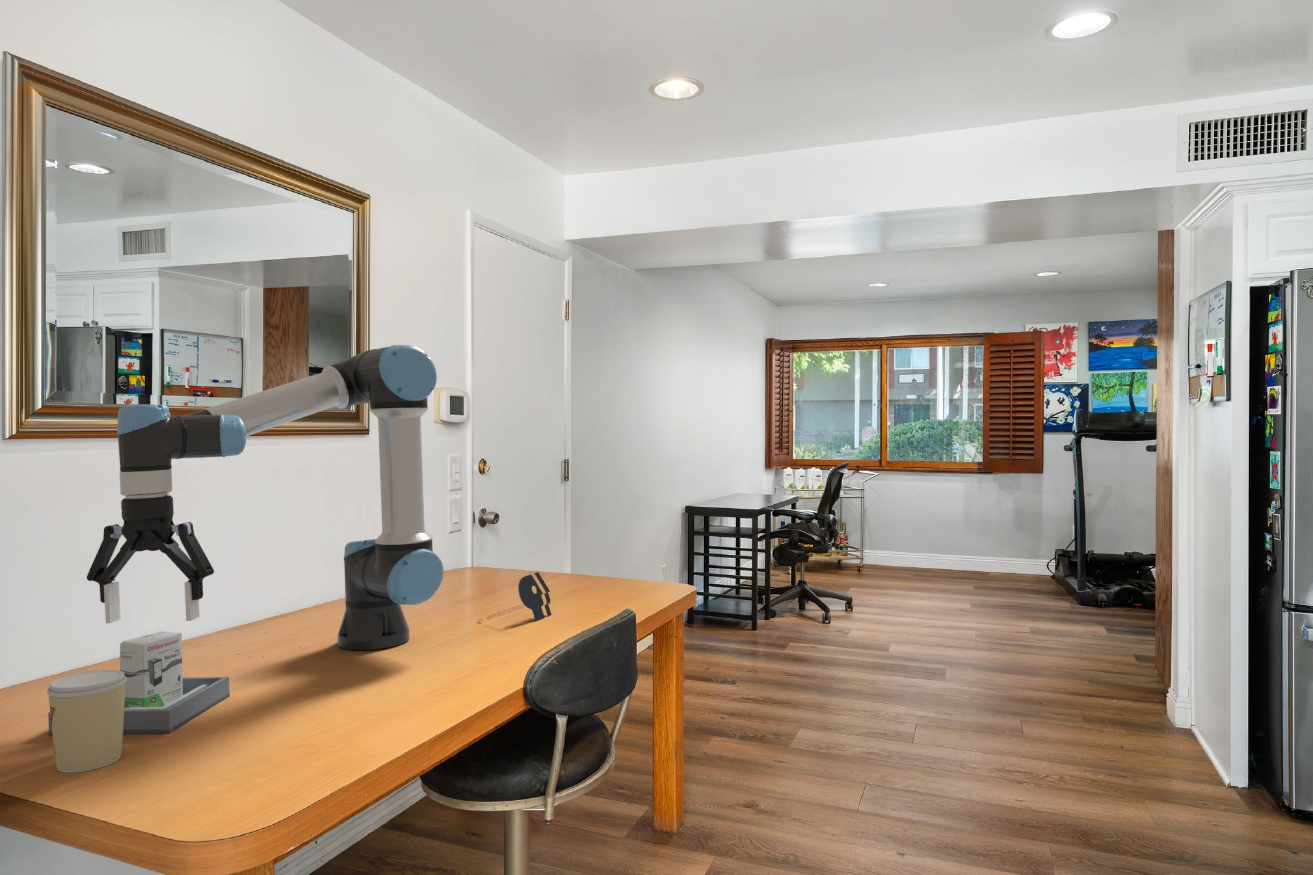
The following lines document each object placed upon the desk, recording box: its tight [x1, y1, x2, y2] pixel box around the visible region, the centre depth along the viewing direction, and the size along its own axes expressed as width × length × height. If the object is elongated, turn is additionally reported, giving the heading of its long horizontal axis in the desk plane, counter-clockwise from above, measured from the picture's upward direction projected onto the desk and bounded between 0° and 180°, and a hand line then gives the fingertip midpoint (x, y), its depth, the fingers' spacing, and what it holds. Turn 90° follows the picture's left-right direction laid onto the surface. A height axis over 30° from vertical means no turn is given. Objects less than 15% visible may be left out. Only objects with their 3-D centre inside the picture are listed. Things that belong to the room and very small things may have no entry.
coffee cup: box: [46, 669, 127, 774], centre depth 119 cm, size 9×9×12 cm
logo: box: [476, 571, 552, 624], centre depth 205 cm, size 17×18×11 cm
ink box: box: [119, 631, 183, 708], centre depth 141 cm, size 9×5×12 cm, turn 167°
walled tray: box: [48, 676, 230, 736], centre depth 139 cm, size 19×18×4 cm
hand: (153, 620), depth 141 cm, fingers open, 13 cm apart
